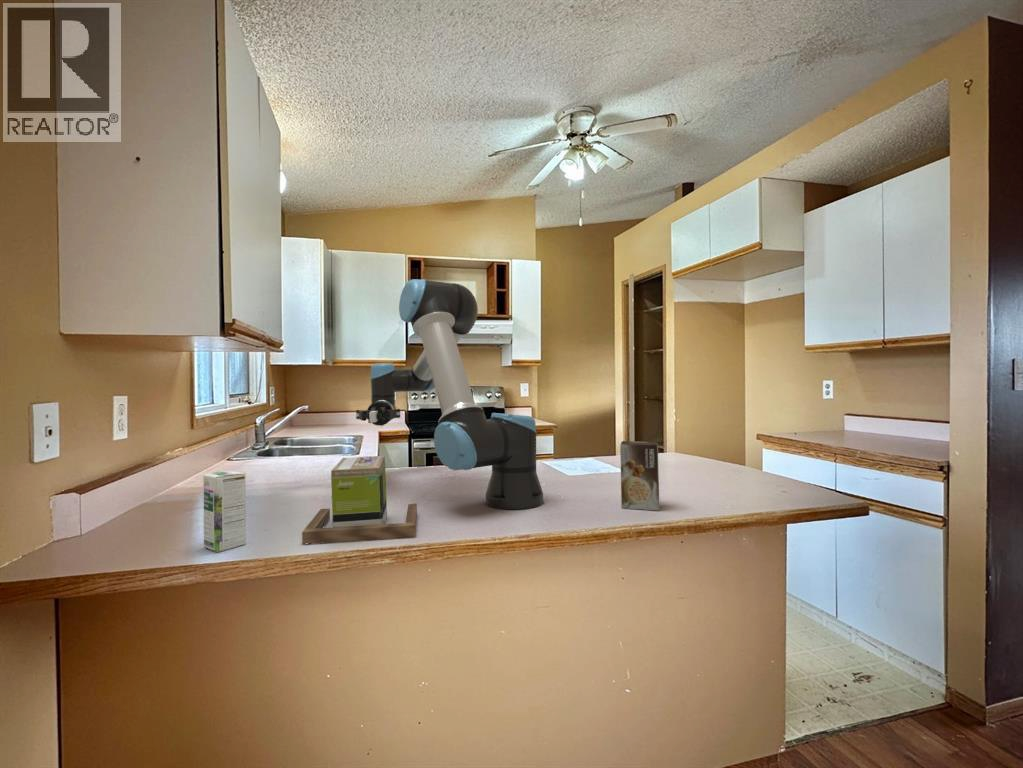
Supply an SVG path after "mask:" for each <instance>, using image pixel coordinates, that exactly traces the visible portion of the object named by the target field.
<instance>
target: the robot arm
mask: <svg viewBox="0 0 1023 768" xmlns="http://www.w3.org/2000/svg"><path fill="white" fill-rule="evenodd" d="M399 297H400V298H399V302H398V303H399V304H398V312H399V317H400V319H401V321H402V322H405V323H411V327H412V331H413V332H414V334H416V336H419V337H420V338H421V339H420V340H421V342H422V345H423V348H424V349H423V351H422V353H421V354H420V355H419V357H418V359H417V360H416V362H415V363H414V365H413V367H412V368H410V369H409V368H408V369H404V368H403V369H401V368H400V369H399V368H395V365H394V363H384V362H383V363H373V364H372V365H371V367H370V388H371V389H370V390H371V399H370V400H371V403H370V405H369V406H368V407H367V410H363V409H361V410H359V409H357V410H355V413H356V414H355V419H356V420H359V421H360V420H361V421H367V420H368V421H367V422H368V424H373V425H375V426H378V427H379V426H380V427H383V426H385V425H386V424H388V423H389V422H391V421H392V420H393V419H400V418H401V409H400V408H396V393H401V392H403V393H405V392H426V391H432V390H434V389H435V392H436V395H437V399H438V403H439V407H440V410H441V416H440V418H439V419H438V425H437V426H436V428H435V431H434V435H433V438H434V441H433V444H434V449H435V453H436V455H437V457H438V459H439V460H440V462H441V463H442V464H443V465H444V466H445V467H447V468H448V469H449V470H453V471H469V470H472V469H476V468H484V467H491V475H490V478H489V482H488V485H487V488H486V491H485V504H486V505H487V506H489V507H492V508H497V509H503V510H524V509H531V508H535V507H538V506H540V505H542V504H544V491H543V488H542V486H541V481H540V479H539V477H538V473H537V435H538V432H537V425H536V420H535V418H534V417H532V416H530V415H522V414H511V413H509V414H508V413H500V412H498V413H497V412H492V413H491V416H490V418H488V419H487V417H486V415H485V410H484V408H483V407H482V406H481V405H478V404H476V403H475V402H476V401H475V398H474V396H473V392H472V389H471V385H470V384H469V383H470V382H469V379H468V376H467V374H466V370H465V367H464V363H463V360H462V356H461V354H460V350H459V347H458V343H459V341H460V340H461V338H462V337H463V336H466V335H468V334H469V333H470V331H471V330H472V329H473V327H474V326H475V323H476V321H477V318H478V313H479V309H478V308H479V307H478V302H477V299H476V297H475V296H474V294H473V292H472V291H471V290H470V289H469V288H467V287H466V286H464V285H463V284H459V283H455V282H453V283H451V282H443V281H437V280H436V281H435V280H428V279H424V278H422V279H418V278H416V279H415V278H414V279H410V280H408V281H407V282H406V283H405V285H404V286H403V288H402V291H401V292H400V296H399Z"/></svg>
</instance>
